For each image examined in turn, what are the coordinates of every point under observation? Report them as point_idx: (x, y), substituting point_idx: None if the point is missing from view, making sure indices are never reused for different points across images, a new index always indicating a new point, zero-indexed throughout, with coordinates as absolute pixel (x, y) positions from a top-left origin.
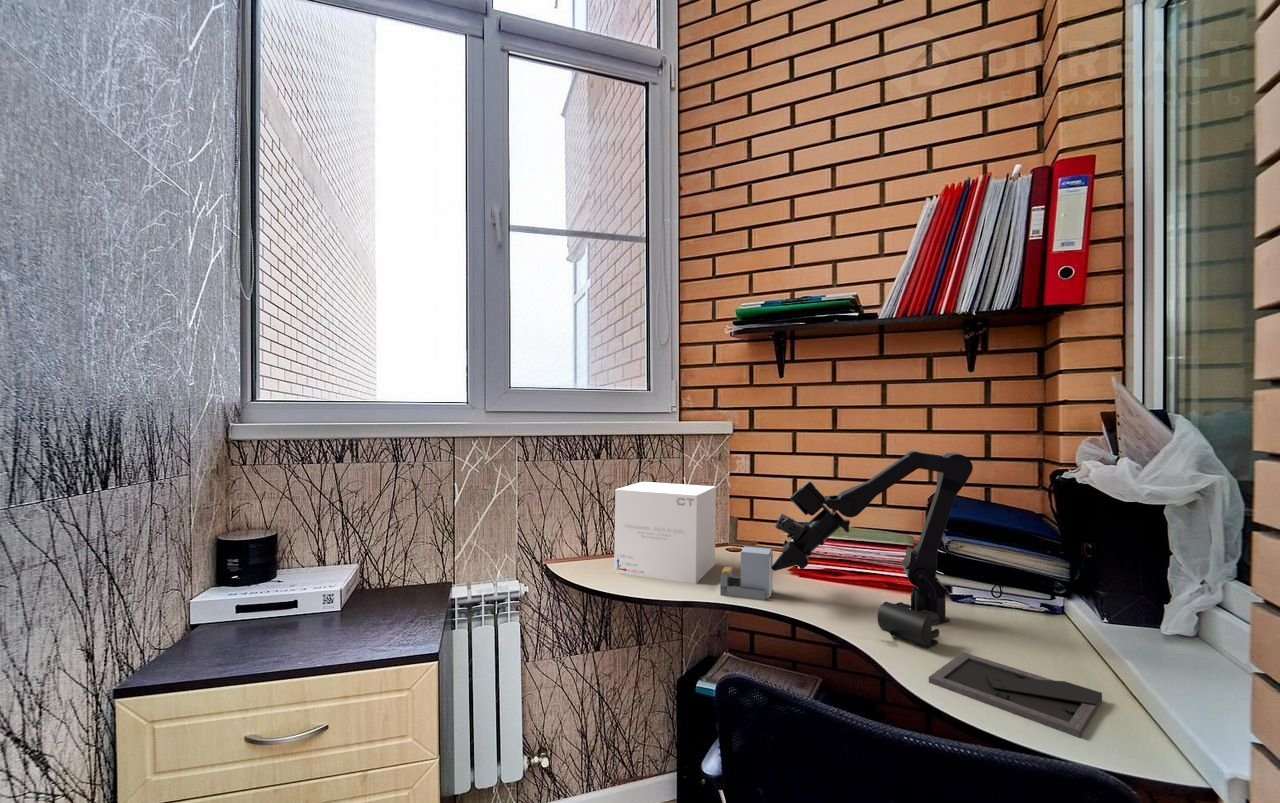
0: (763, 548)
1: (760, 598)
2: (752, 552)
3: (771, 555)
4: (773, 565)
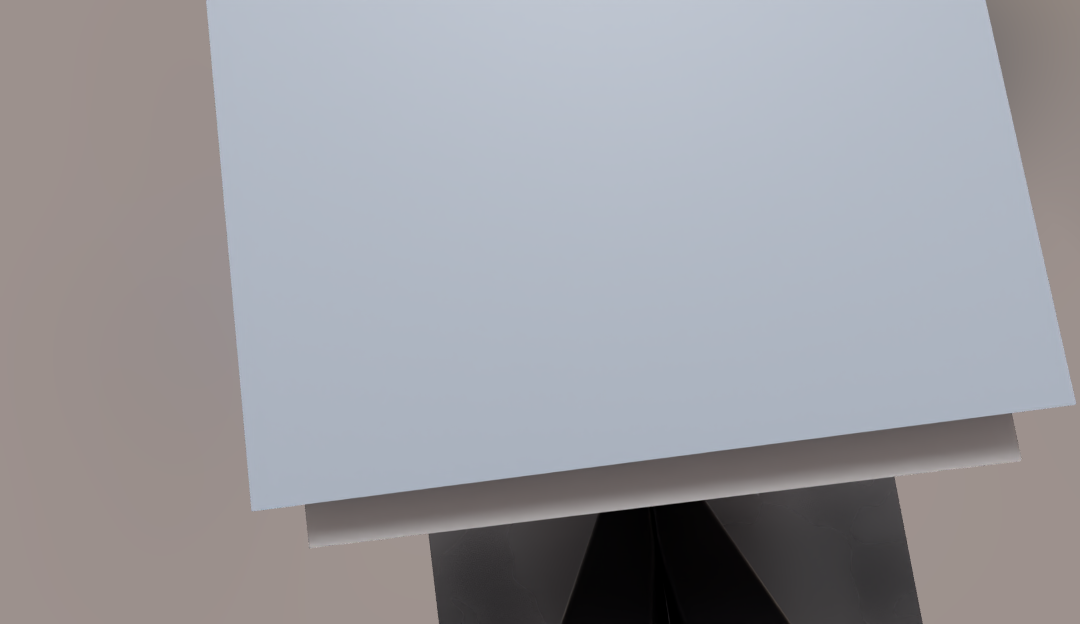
0: (966, 141)
1: None
2: (239, 1)
3: (519, 519)
4: (597, 520)
